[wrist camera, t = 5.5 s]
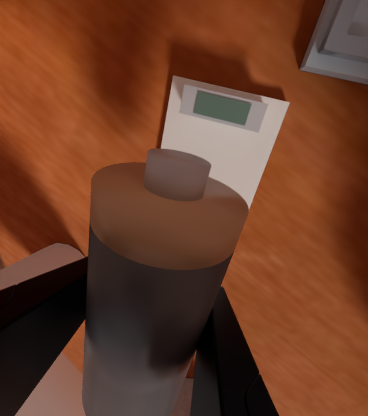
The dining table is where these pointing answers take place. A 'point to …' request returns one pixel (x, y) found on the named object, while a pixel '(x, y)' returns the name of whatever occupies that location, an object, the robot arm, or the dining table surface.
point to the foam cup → (39, 264)
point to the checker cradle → (224, 130)
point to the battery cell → (152, 278)
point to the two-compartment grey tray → (340, 41)
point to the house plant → (184, 399)
